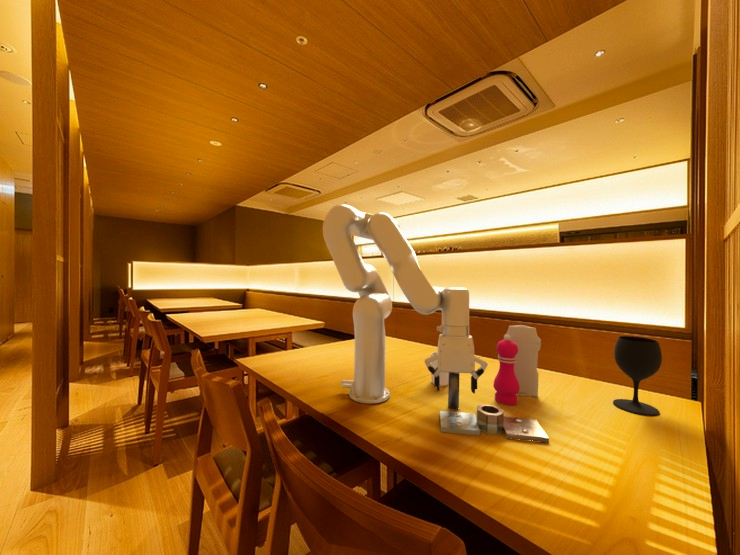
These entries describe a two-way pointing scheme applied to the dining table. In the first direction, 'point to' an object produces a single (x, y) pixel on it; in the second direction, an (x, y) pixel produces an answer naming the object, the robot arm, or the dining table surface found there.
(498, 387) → the pepper mill
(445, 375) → the paper coffee cup
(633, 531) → the dining table surface
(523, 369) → the beige upright panel
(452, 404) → the hinge pin
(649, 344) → the wine glass
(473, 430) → the hinge
